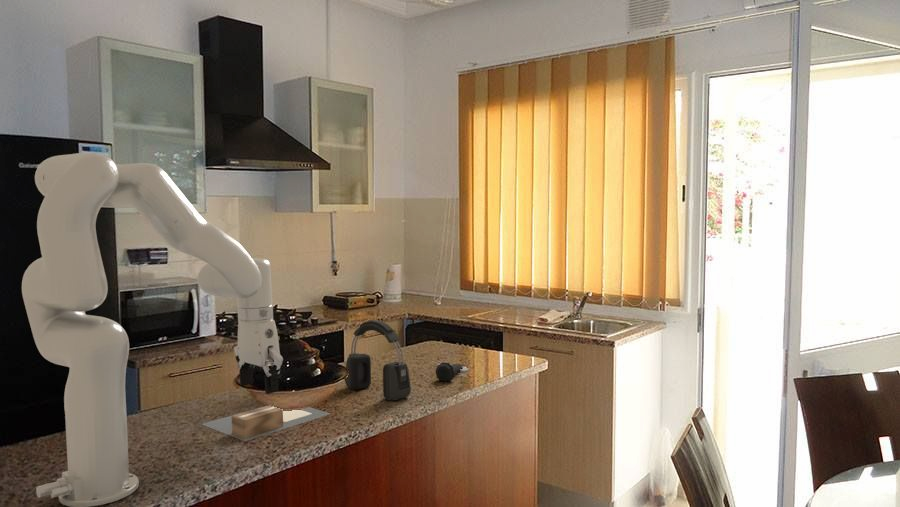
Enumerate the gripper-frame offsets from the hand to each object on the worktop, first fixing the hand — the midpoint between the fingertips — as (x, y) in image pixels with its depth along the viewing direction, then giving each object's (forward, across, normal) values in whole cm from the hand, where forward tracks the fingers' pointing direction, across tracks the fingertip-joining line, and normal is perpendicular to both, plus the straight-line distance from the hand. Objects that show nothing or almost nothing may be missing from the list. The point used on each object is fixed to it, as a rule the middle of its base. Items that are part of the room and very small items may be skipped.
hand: (259, 388), depth 147 cm
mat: (+10, +5, -5) cm, 12 cm away
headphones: (+11, +2, -38) cm, 40 cm away
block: (+9, 0, +1) cm, 9 cm away
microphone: (+12, -3, -66) cm, 67 cm away
